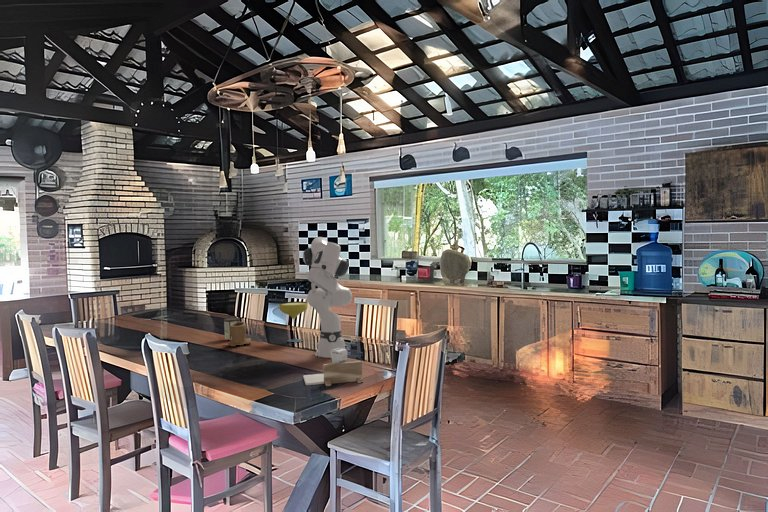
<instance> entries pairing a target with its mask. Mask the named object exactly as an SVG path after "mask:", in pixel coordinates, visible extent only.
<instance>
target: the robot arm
mask: <svg viewBox="0 0 768 512" xmlns="http://www.w3.org/2000/svg"><path fill="white" fill-rule="evenodd" d="M302 260H303V262H304V265H306V266H308V267H310V269H309V271H308V274H307V277H306V278H307V281H308V282H310V283H311V284H310V286H311V289H310V290H309V291H308V293H307V297H306V301H307V304H308V306H310V307H311V308H313V309H314V310H315V311H316V313H317V314H318V316H319V319H320V334H319V335H320V339H319V341H318V342H317V343H316V347H317V349H316V352H315V354H314V357H317V356H318V358H327V359H328V358H330V359H331V350H334V349H337V348H343V349H346V344H345V339H344V338H342V335H343V334H342V330H341V317H340V315H339V314H337V313H336V312H333V311H331V310H330V307H331V308H332V307H343V306H347V305H350V304H351V303H352V300H353V293H352V291H351V289H350V288H349V287H347V286H343V285H342V284H340V283H339V282H338V281H337V278H336V277H335V276H337V277H339V278H340V277H342V276H345V275H346V274H347V272H348V271H349V266H350V265H349V261H348V260H347V259H346V258H343V257H342V255H341V245H339V244H338V243H335V242H332V241H328V240H327V239H326V238H324V237H323V236H318V237H315V238H314V239H313V240H312V242H311V245H310V247H307V249H304V251H303V253H302ZM316 287H317V288H316ZM348 354H349V353H348V351H347V355H348Z"/></svg>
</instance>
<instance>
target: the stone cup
mask: <svg viewBox="0 0 768 512" xmlns="http://www.w3.org/2000/svg"><path fill="white" fill-rule="evenodd" d="M247 328H248V327H247V324H246V322H244V321H240V322H236V323H232V324H231V325H230V328H229V329H230V335H231V337H232V341H228V342H227V346H229V345H230V347H237V346H236V345H240V346H245V345H244V344H246V345H251V344H252V339H251V337H249V338H248V337H247V338H246V334H247ZM250 343H251V344H250Z"/></svg>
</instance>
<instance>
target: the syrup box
mask: <svg viewBox="0 0 768 512" xmlns="http://www.w3.org/2000/svg"><path fill="white" fill-rule="evenodd" d="M347 352H348V349H346V348H345V349H343V348H337V349H334V350H331V358H330V364H332V363H344V362H348V354H347Z"/></svg>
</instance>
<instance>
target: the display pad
mask: <svg viewBox="0 0 768 512" xmlns="http://www.w3.org/2000/svg"><path fill="white" fill-rule="evenodd" d="M302 378H303V380H304V384H305V386H313V385H315V386H316V385H325V384H324V373H314V374H305V375H304V374H303V377H302Z"/></svg>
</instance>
